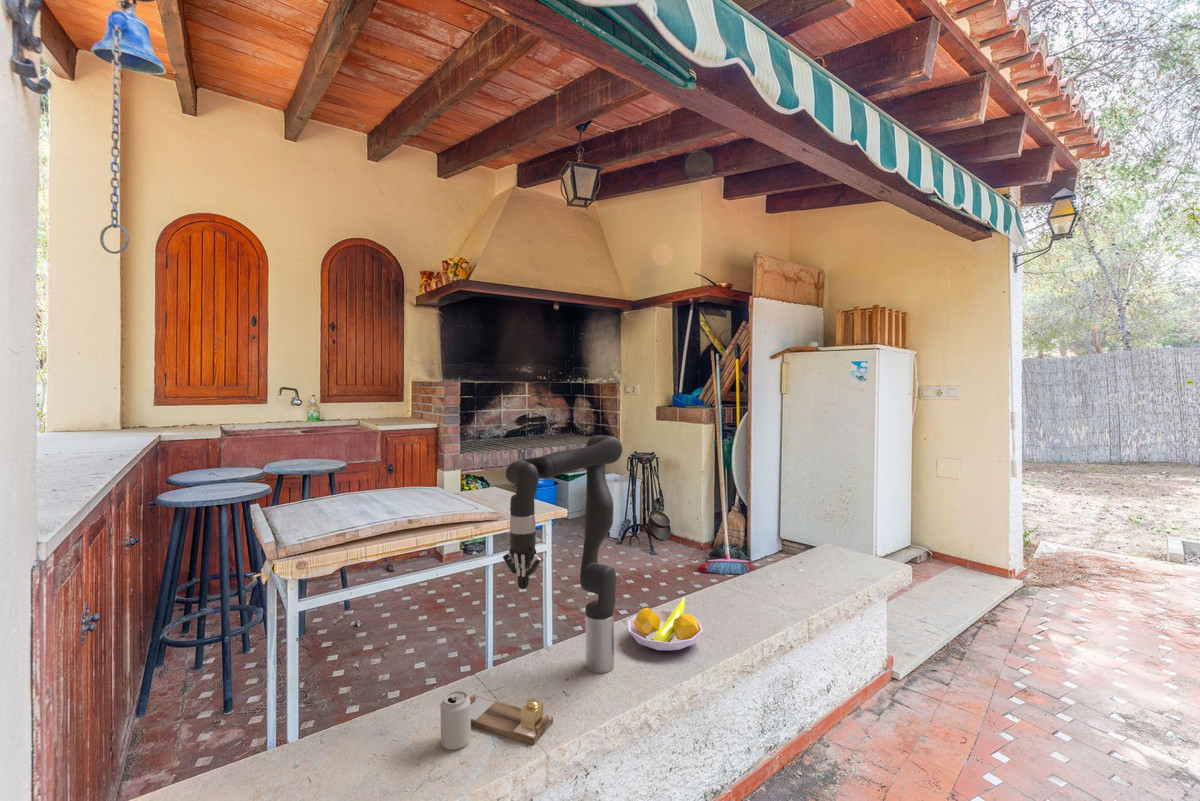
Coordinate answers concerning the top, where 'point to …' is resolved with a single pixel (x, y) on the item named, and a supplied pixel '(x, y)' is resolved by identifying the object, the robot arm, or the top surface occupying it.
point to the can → (455, 720)
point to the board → (505, 720)
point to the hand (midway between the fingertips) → (523, 588)
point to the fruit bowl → (665, 628)
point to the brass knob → (532, 713)
